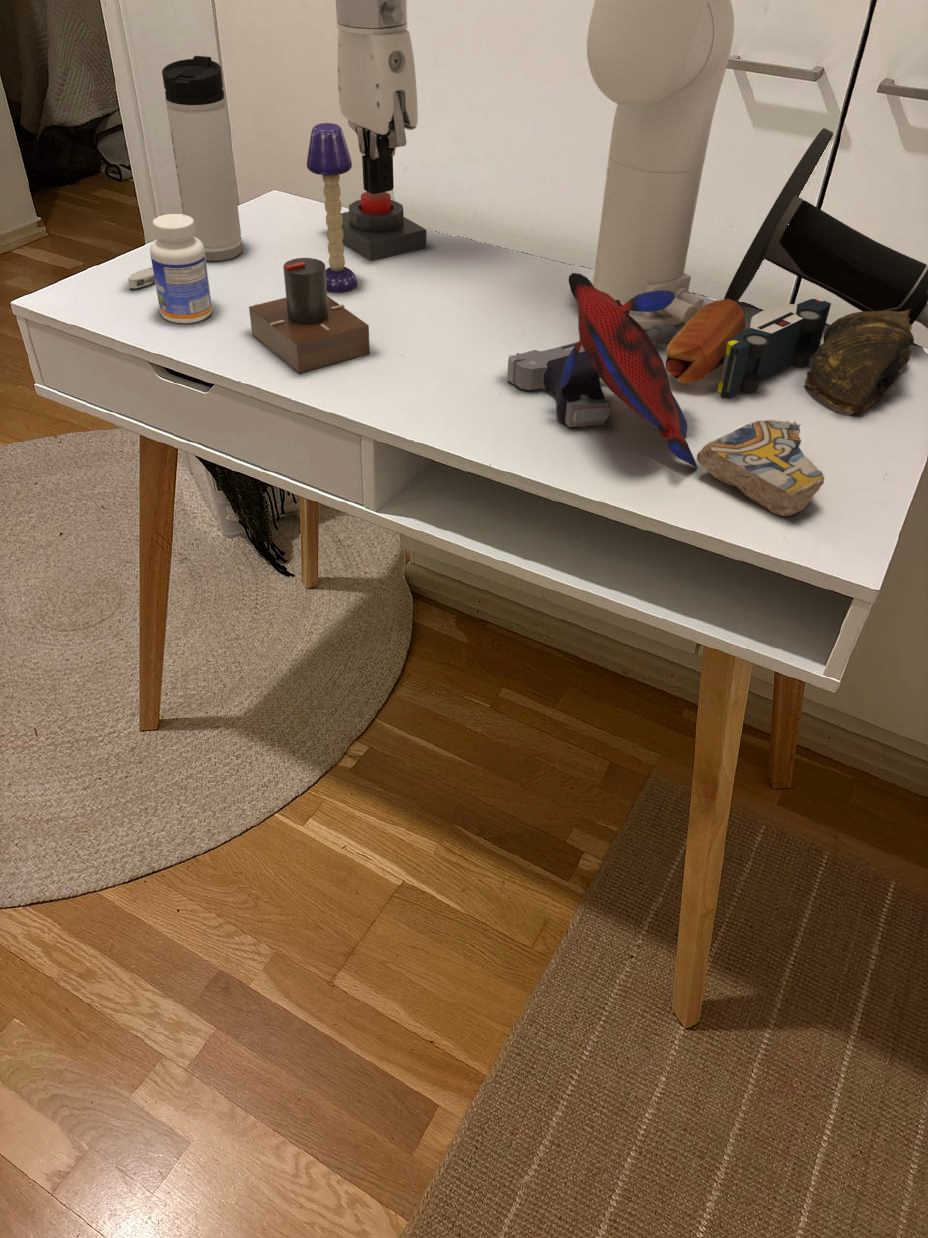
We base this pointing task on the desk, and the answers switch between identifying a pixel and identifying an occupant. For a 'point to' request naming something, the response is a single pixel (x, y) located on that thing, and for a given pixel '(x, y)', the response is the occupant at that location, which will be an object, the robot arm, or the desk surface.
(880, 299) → the black flanged spool
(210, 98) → the travel mug
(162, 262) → the pill bottle
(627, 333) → the fish
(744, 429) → the ceramic tile fragment
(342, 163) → the toy lamp
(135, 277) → the oval pebble
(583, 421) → the handgun
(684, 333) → the hot dog
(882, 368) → the seashell
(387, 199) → the button
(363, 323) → the dimmer panel
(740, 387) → the toy car
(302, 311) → the dimmer knob
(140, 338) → the desk surface
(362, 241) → the switch block
